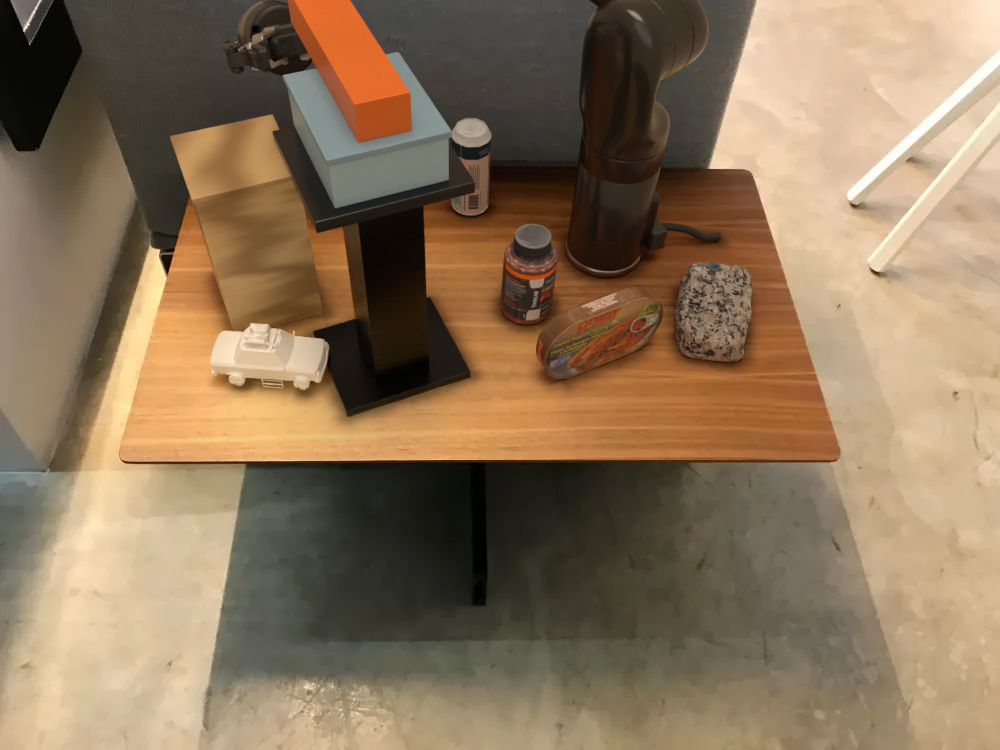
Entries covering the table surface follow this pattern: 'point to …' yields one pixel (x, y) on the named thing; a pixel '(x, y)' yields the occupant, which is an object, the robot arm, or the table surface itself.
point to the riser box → (250, 222)
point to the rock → (713, 311)
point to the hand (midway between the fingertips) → (308, 51)
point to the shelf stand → (382, 287)
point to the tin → (598, 332)
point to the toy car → (269, 356)
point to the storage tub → (368, 142)
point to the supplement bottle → (529, 275)
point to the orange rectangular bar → (353, 67)
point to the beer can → (473, 163)
